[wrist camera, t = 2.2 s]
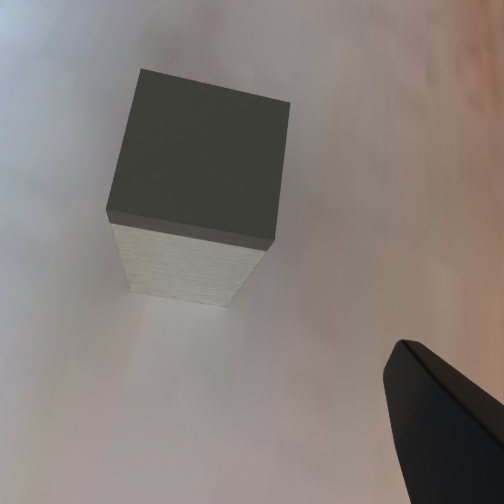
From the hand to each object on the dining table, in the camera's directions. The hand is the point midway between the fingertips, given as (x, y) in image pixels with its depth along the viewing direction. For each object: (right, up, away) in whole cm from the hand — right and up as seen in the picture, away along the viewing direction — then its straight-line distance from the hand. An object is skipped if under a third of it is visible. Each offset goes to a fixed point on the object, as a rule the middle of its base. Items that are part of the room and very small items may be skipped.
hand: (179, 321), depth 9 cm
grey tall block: (-2, +1, +13) cm, 13 cm away
